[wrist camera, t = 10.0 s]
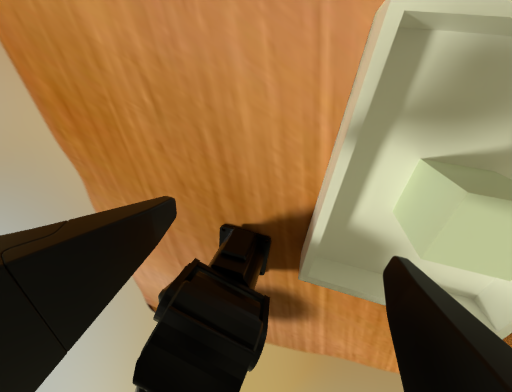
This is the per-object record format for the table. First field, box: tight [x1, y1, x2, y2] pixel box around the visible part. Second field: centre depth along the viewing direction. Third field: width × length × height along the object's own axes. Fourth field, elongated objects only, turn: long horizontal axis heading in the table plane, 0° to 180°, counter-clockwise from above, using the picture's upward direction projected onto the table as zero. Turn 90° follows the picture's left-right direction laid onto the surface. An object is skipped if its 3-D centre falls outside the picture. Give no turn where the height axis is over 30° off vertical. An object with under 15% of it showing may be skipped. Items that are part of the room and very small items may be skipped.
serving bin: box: [298, 0, 512, 339], centre depth 16 cm, size 22×18×4 cm
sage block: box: [392, 159, 512, 281], centre depth 14 cm, size 5×5×6 cm
